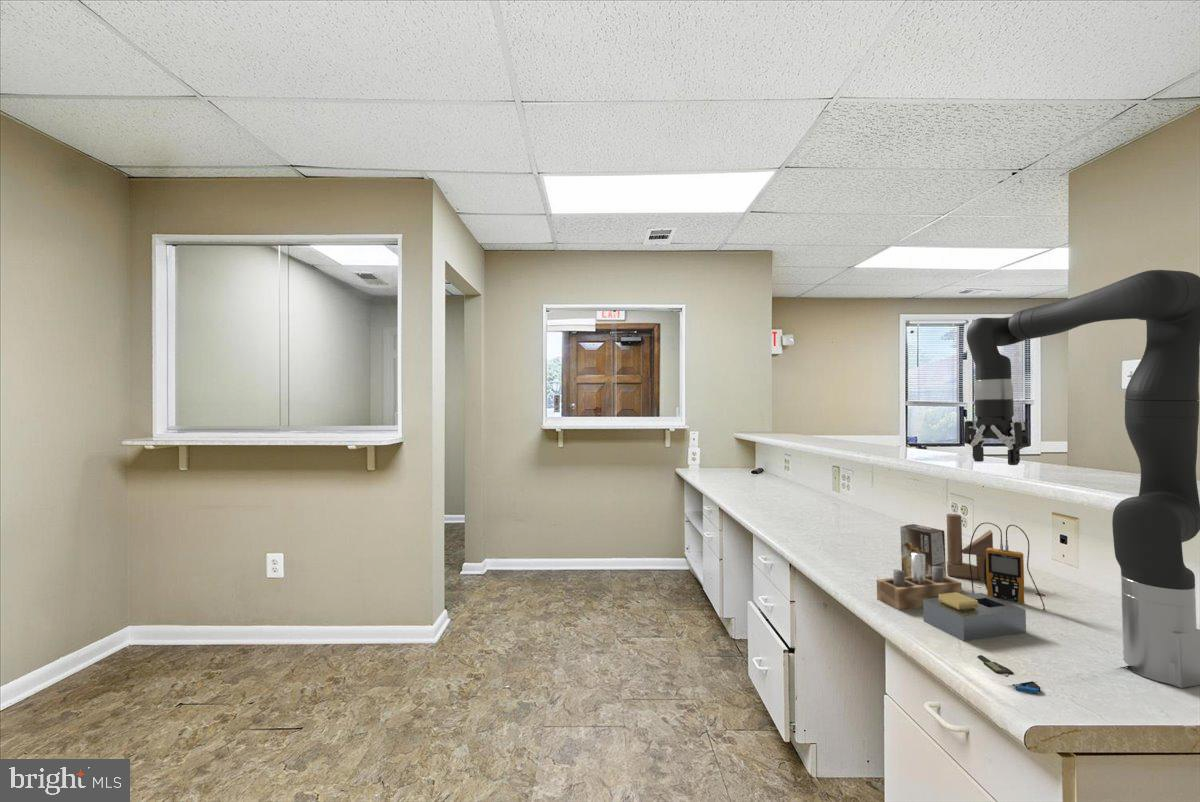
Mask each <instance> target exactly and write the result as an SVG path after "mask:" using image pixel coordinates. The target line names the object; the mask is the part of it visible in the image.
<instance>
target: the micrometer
mask: <svg viewBox="0 0 1200 802" xmlns="http://www.w3.org/2000/svg"><path fill="white" fill-rule="evenodd" d="M976 658H977V659H979V660H980V661H981V662H983V665H984V666H986V667H987V668H989V669H990V671H992V672H994V673H995V674H996V675H997V674H998V675H1002V676H1003V677H1005V678H1009V675H1014V671H1012V670H1011V669H1010V668H1008V667H1006V666H1004V665H1001V664H999V663H998V662H997V661H991V660H990V659H988V657H986V656H984V655H982V654H979V655H977V657H976ZM1012 686H1013V687H1014V686H1015V689H1016V690H1017V691H1018V692H1023V691H1026V692H1025V693H1029V692H1032V693H1031V694H1039V693H1038V692H1040V693H1041V686H1039V684H1037V683H1035V682H1034V681H1027V682H1026V681H1025V682H1020V685H1016V684H1015V683H1014V684H1012Z"/></svg>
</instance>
